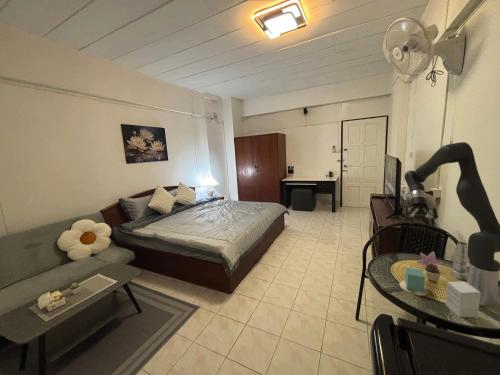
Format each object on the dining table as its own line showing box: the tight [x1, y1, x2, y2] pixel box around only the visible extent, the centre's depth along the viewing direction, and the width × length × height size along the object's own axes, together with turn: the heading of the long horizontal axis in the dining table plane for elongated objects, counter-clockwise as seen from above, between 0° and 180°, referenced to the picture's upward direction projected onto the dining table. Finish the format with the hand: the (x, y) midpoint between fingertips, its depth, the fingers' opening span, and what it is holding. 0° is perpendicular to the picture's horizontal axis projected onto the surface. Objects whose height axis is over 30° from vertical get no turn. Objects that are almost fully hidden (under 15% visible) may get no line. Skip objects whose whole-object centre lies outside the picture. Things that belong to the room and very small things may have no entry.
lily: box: [415, 251, 443, 274], centre depth 121 cm, size 12×12×10 cm
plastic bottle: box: [450, 241, 469, 281], centre depth 110 cm, size 6×7×20 cm
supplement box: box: [445, 280, 481, 320], centre depth 90 cm, size 7×7×13 cm
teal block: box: [404, 267, 426, 293], centre depth 106 cm, size 7×7×8 cm
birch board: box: [399, 279, 430, 296], centre depth 107 cm, size 12×12×1 cm
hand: (422, 224), depth 114 cm, fingers open, 8 cm apart
